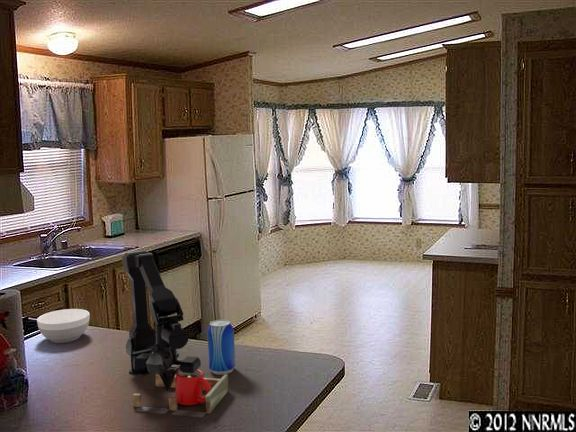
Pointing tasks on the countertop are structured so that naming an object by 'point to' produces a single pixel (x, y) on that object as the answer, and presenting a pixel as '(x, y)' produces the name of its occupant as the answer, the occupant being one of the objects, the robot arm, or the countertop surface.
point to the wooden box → (212, 398)
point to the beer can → (221, 347)
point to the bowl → (63, 324)
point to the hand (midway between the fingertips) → (168, 391)
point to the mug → (190, 387)
